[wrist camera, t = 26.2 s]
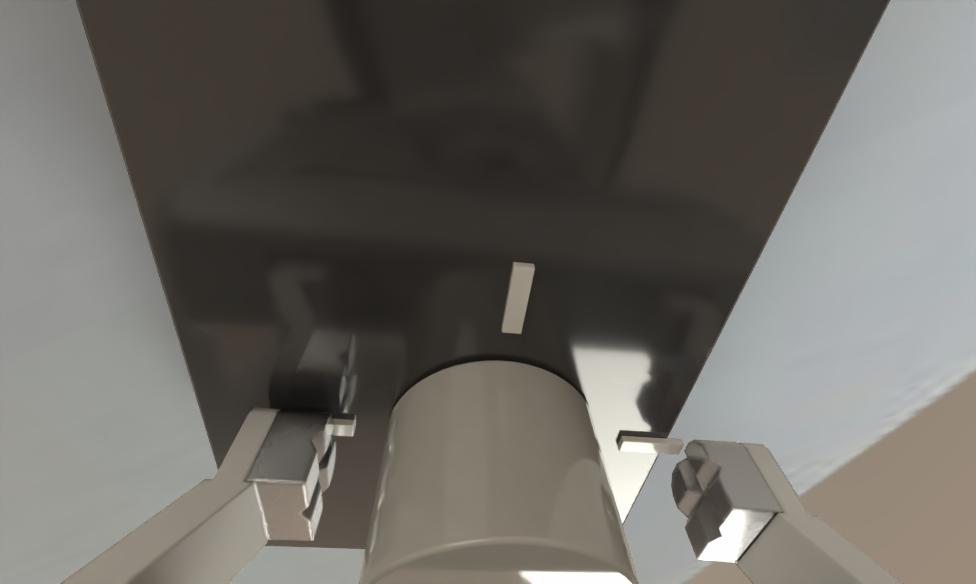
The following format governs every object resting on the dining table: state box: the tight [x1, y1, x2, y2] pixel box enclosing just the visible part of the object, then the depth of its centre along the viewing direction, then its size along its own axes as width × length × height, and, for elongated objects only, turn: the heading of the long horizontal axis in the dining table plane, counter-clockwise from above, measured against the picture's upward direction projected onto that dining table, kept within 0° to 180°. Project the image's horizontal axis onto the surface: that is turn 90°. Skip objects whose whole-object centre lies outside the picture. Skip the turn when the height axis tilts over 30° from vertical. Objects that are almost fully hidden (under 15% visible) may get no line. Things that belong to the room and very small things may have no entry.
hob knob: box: [359, 360, 639, 584], centre depth 9 cm, size 4×4×4 cm
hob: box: [76, 0, 890, 549], centre depth 10 cm, size 14×10×3 cm
